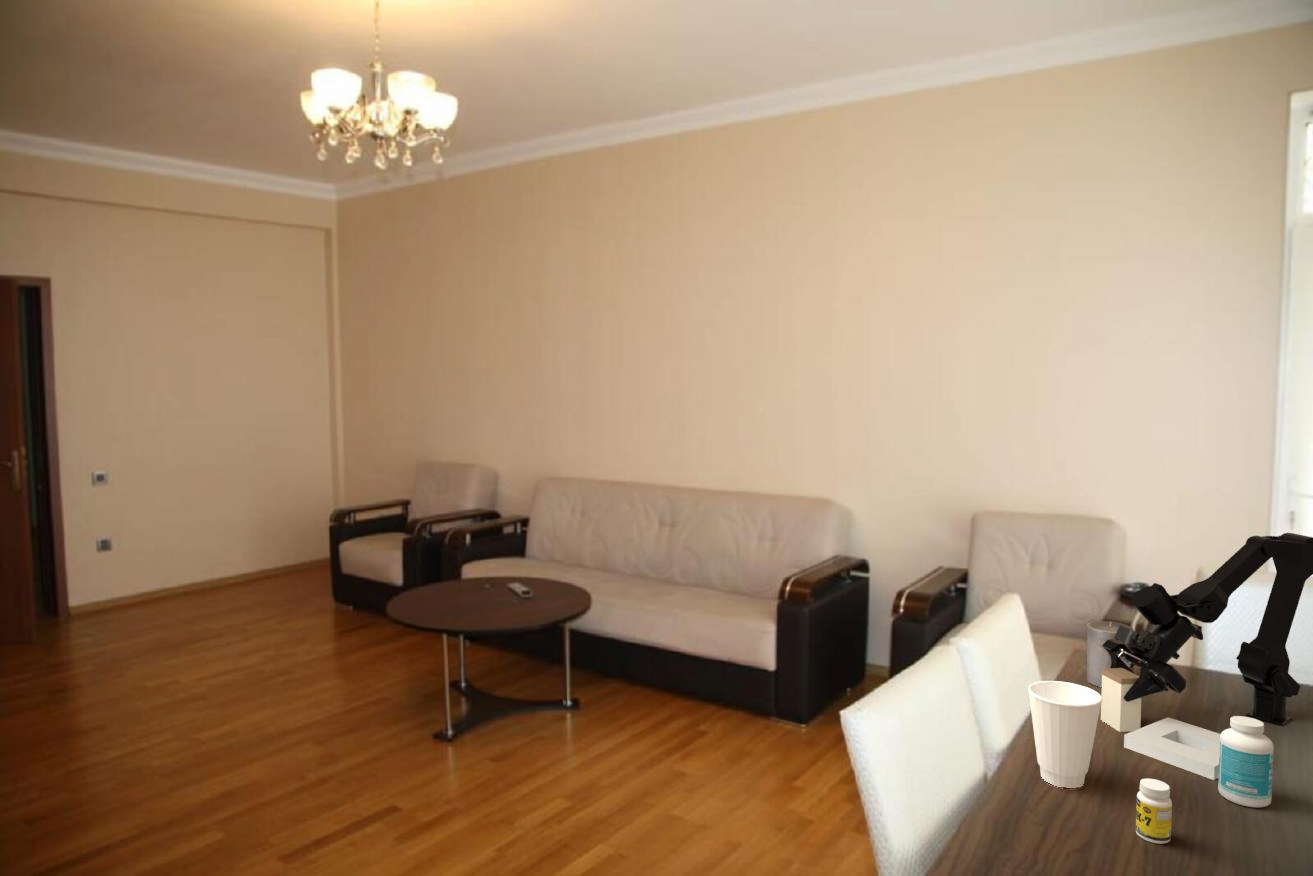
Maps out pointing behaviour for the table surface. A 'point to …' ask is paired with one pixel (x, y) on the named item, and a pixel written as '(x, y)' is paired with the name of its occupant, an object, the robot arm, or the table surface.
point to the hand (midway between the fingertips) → (1114, 694)
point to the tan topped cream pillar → (1119, 700)
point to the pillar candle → (1100, 648)
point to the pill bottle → (1246, 763)
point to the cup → (1064, 730)
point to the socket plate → (1178, 746)
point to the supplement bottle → (1154, 811)
